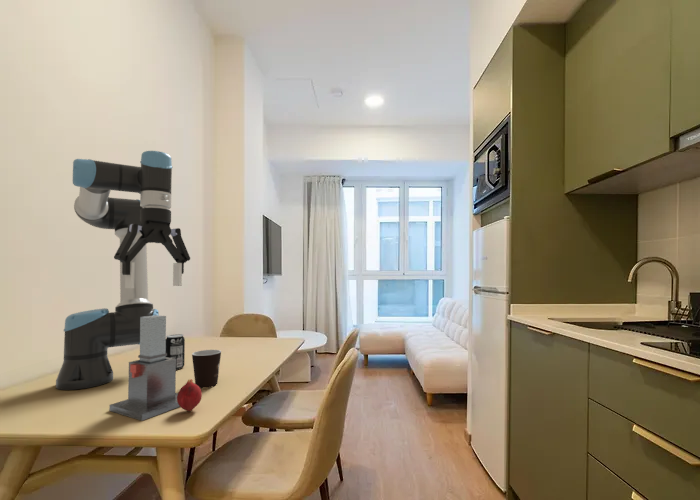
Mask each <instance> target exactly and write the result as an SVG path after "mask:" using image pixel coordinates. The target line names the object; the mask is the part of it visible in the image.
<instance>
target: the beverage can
mask: <svg viewBox="0 0 700 500" xmlns="http://www.w3.org/2000/svg"><path fill="white" fill-rule="evenodd" d="M185 339H186V338H185V337H184V334H182V333H181V334H179V333H178V334H175V333H174V334H169V335H166V353H167V356H166V357H168V358H174V359H176V371H177V370H182V369H183V368H184V366H185V359H186V358H185V348H186V347H185V345H186V343H185V342H186V341H185Z"/></svg>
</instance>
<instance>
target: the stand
mask: <svg viewBox="0 0 700 500" xmlns="http://www.w3.org/2000/svg"><path fill="white" fill-rule="evenodd" d="M176 371H177V370H176V359H174V358H168V357H166V360H164V361H159V362H155V363H151V364H146V363H141V362H140V359H136V360H133V361H129V362H128V383H127V384H128V385H127V386H128V388H127V389H128V390H127V391H128V392H127V393H128V395H127V399H124V400H120V401H117V402H115V403H111V404H109V407H108V408H109V409H108V410H109V411H110V412H113V413H116V414H119V415H122V416H125V417H128V418H131V419H136V420H138V421H145V420H148V419H151V418H153V417H156V416H160V415H161V414H165V413H166V412H170V411H172V410H175V409H178V408H181V407H180V406H179V404H178V402H177V395H178V392H176V384H177V383H176V382H177V381H176V379H177V376H176V373H177V372H176Z"/></svg>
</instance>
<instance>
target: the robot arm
mask: <svg viewBox="0 0 700 500" xmlns="http://www.w3.org/2000/svg"><path fill="white" fill-rule="evenodd" d="M140 155H141V158H140V166H136V165H128V164H120V163H115V162H114V163H113V162H108V161H100V160H96V159H95V160H94V159H90V158H89V159H87V158H85V159H82V158H75V159H74V160H73V162H72V185H73V186H75V187H78V188H79V194H78V196H77V197H76V198H75V200H74V204H73V208H74V212H75V214H76V216H77V217H78V218H79V219H80V220H81V221H83V222H84V223H86V224H88V225H90V226H93V227H94V228H99V229H103V230H114V235H115V236H116V237H117V238H118V239H119V247H118V249H117V250H116V252H115V254H114V256H113V258H114V260H117V261H119V277H120V278H119V282H120V283H119V286H120V287H119V289H120V292H119V294H120V302H119V303H118V304H117V305H116V306H115V309H114V310H115V311H113V312H110V311H109V309H108V308H96V309H89V310H84V311H79V312H74V313H72V314H69V315H68V316H67V317H66V318H65V320H64V329H63V332H64V337H63V338H64V340H63V342H64V343H63V362H62V364H61V367H60V370H59V373H58V375H57V377H56V380H55V388H56V389H57V390H61V391H72V390H73V391H74V390H83V389H89V388H93V387H98V386H101V385H105V384H108V383H109V382H112V381H113V380H114V370H113V367H112V365H111V362H110V360H109V356H108V349H109V348H116V347H124V346H125V347H126V346H133V345H134V346H135V345H139V346H140V317H146V316H154V315H159V316H160V314H159V312H160V311H159V310H158V308H157V309H156V308H154V303H152V302H151V301H150V300H149V286H148V285H149V284H148V280H149V279H148V255H147V254H148V253H147V251H148V250H147V244H149V243H150V244H151V243H152V244H153V243H155V244H161V245H163V246H164V248H165V249H166V250H167V252H168V253H169V254H170V256H171V257H172V258H173V260H174V261H175V262H173V264H172V268H173V269H172V270H173V271H172V275H173V276H172V287H181V286H182V285H183V283H182V280H183V279H182V277H183V274H184V273H185V272H184V271H185V268H184V267H185V263H187V262H188V261H189V262H190V260H191V257H190V254H189V251H188V249H187V247H186V245H185V242H184V240H183V237H182V230H181V228H179V227H177V228H171V227H170V226H171V224H172V223H171V222H172V211H171V210H170V209H171V208H172V172H173V163H172V162H173V160H172V157H171V155H170V154H168V153H167V152H163V151H158V150H146V151H143V152H142V153H141V154H140ZM111 191H119V192H127V193H136V194H140V195H139V196H140V197H139V198H140V199H129V198H122V197H121V198H120V197H110V193H111Z"/></svg>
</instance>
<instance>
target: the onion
mask: <svg viewBox="0 0 700 500" xmlns="http://www.w3.org/2000/svg"><path fill="white" fill-rule="evenodd" d="M202 392H203V391H202V388H200V387H199V386H198V385H196V384H195V382H193V379H191V378H189V379H188V380H187V382H186V383H185V384H184V385H182V387H181V388H180V389H179V391H178V392H177V393H178V395H177V402H178V404H179V406H180V407H179V408H181V410H184V411H186V412H189V413H190V412H191V411H193V410H194V409H195V408H196V407H197V406H198V405H199V404H200V402H201V400H202V398H203V397H202V396H203V394H202Z"/></svg>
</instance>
